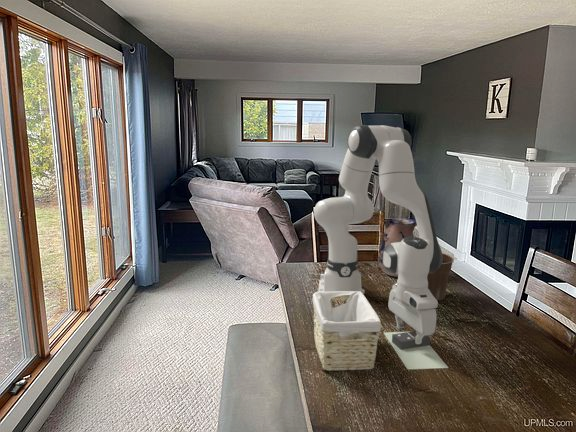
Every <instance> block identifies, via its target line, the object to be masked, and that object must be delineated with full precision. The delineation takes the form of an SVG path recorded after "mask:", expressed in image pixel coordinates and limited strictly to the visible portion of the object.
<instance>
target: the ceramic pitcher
mask: <svg viewBox="0 0 576 432" xmlns="http://www.w3.org/2000/svg"><path fill="white" fill-rule="evenodd" d="M416 227H417V223H416V220H414V219H408V218H400V217H399V218H398V217H394V218H392V219H385V220H384V231H383V236H382V239H381V242H380V245H379V250H378V254H377V262H378V265H379V267H380V269H381V270H382V272H383V273H385V274H386V275H387V276H390V277H394V278H395V277H396V278H398V275H397V274H393V273H391V272H389V271H388V270H387V269H386V268H385V267H384V266H383V263H382V253H383V250H384V248H385V247H386V246H387V245H388V244H389V243H395V242H401V241H402V240H403V239H404V238H406V237H415V236H414V230H415V228H416Z"/></svg>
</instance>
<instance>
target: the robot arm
mask: <svg viewBox="0 0 576 432" xmlns="http://www.w3.org/2000/svg"><path fill="white" fill-rule="evenodd" d="M347 136H348V138H347V147H348V148H347V151H346V153H345V156H344V159H343V162H342V165H341V168H340V172H339V176H338V182H339V185H340V187H341V188H342V189H344V190H345V191H344V194H343V196H335V197H329V198H325V199H322V200H319V201H318V202H317V203H316V204H315V207H314V209H313V214H314V219H315V221H316V223H317V224H318V225H319V226H320V227H322V229H323V230H324V231H325V233H326V236H327V239H328V240H327V241H328V258H327V261H326V268H325V270H324V273H320V277H319V278H320V279H319V282H318V290H317V292H331V291H361V292H362V293H363V295H364V294H365V289H364V288H362V273H361V272H360V271H359V270H358V269H359V268H358V267H359V259H358V240H357V238H356V237H354V235H352V234H350V232H349V228H348V226H349V225H356V224H362V223H364V222H366V221H369V220H370V219H371V218H372V217H373V215H374V211H375V208H374V203H373V200H372V199H371V198H370V197H369V194H368V188H369V183H370V180H371V176H372V174H373V173H372V172H373V170H374V167H375V163H376V160H377V163H378V182H379V191H380V193H381V195H382V196H383V197H384V198H385V199H386V200H387V201H388V202H390V203H392V204H394V205H398V206H399V207H403V208H404V209H406V210H408V211H410V212H411V213H412V214H413V216H414V219H415V221H416V223H417V226H416V227H417V231H418V237H417V236H414V237H406V238H404V239H403V240H402V241H401V242H395V243H389V244H388V245H387V246H386V247H385V248H384V250H383V253H382V263H383V266H384V267H385V268H386V269H387V270H388V271H389V272H391V273H393V274H397V275H398V277H397V281H396V282H395V283H393V284H392V286H391V287H392V288H391V290H390V292H389V297H388V302H387V303H388V309H389V311H390V312H392V313H393V314H394V318H395V321H396V328H397V329H398V331H403V330H405V324H406V323H407V324H406V325H408V326H410V327H411V328H412V329H414V331H416V333H417V335H416V336H415V337H414V342H415V343H416V344H421V343H422V338H423V336H427V335H428V336H431V335H434V334H435V332H436V327H437V311H436V308H438V306H439V305H438V304H439V302H438V301H439V300H436V299H435V298H434V296H433V295H432V294H431V292H430V290H429V289H428V281H427V276H428V273H434V272H435V271H436V270H437V269H438V268H439V267H440V266H441V264H442V261H443V255H442V253H443V252H442V248H441V246H440V244H439V240H438V237H437V234H436V228H435V224H434V220H433V215H432V210H431V206H430V203H429V199H428V197H427V195H426V193H425V192H424V191H423V190H421V188H420V187H419V185H418V183H417V180H416V174H415V171H416V170H415V165H414V163H415V162H414V158H413V153H412V150H411V147H412V137H411V134H410V132H409V131H408V130H406V129H405V128H402V127H399V126H397V127H394V126H389V125H383V124H382V125H366V124H360V125H356V126H354V127H353V128H352V129H351V130H350V132H349V134H348V135H347ZM404 322H405V323H404Z"/></svg>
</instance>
